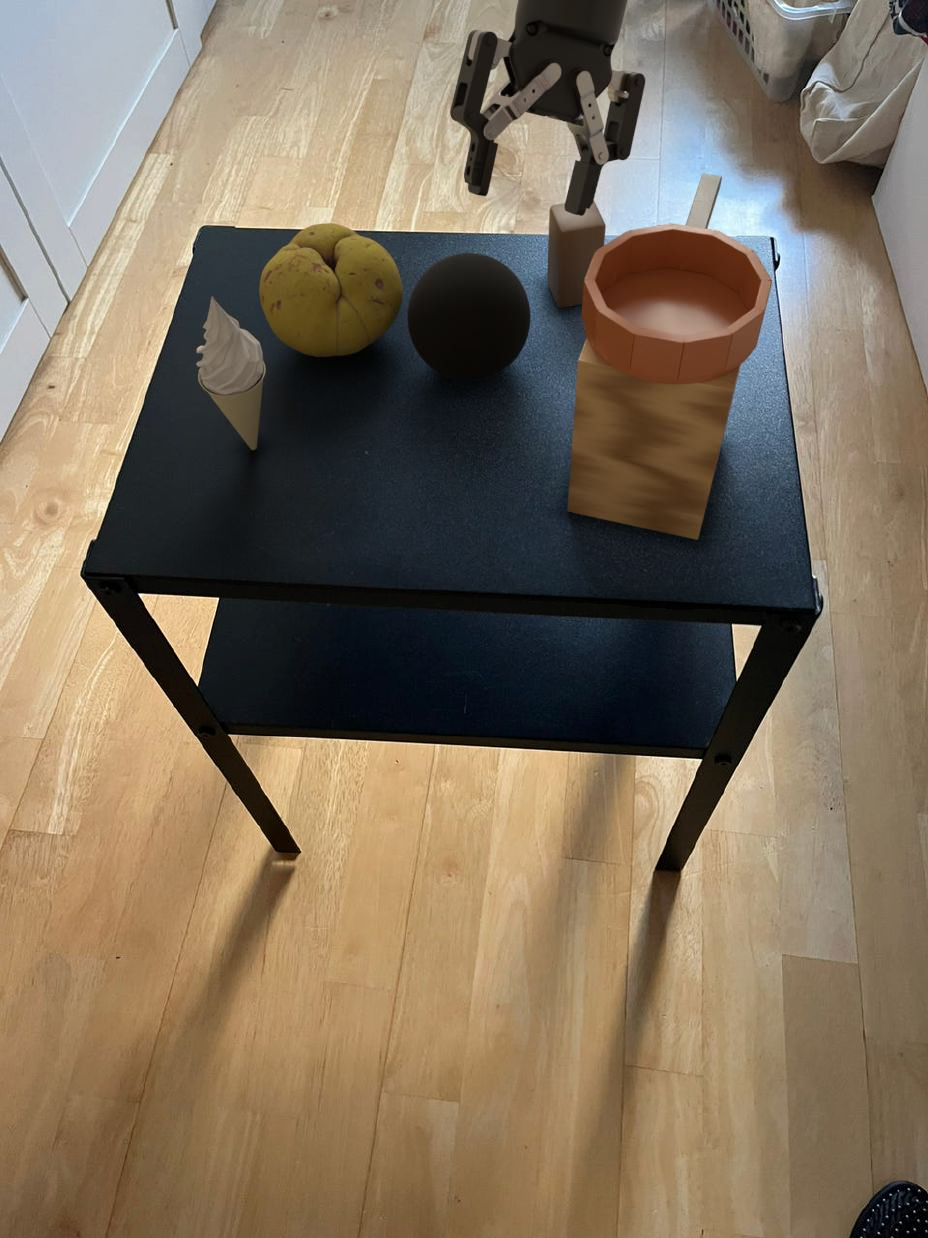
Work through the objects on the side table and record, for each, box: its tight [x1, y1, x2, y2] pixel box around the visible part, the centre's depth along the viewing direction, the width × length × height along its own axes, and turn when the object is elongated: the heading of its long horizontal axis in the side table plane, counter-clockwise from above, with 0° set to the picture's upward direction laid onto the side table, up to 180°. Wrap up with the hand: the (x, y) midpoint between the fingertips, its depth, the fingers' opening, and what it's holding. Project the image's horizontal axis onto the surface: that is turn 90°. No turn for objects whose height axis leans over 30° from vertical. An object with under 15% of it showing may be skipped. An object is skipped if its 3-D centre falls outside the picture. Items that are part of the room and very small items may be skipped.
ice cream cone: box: [196, 295, 267, 451], centre depth 78 cm, size 5×5×15 cm
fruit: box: [258, 222, 404, 358], centre depth 87 cm, size 11×12×10 cm
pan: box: [581, 173, 773, 384], centre depth 69 cm, size 18×11×4 cm, turn 162°
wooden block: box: [546, 200, 607, 309], centre depth 90 cm, size 4×4×8 cm
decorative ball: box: [407, 252, 532, 382], centre depth 85 cm, size 10×10×10 cm
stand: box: [566, 337, 742, 541], centre depth 75 cm, size 10×10×15 cm
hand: (526, 203), depth 79 cm, fingers open, 8 cm apart
